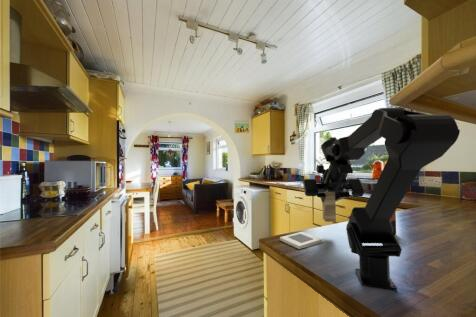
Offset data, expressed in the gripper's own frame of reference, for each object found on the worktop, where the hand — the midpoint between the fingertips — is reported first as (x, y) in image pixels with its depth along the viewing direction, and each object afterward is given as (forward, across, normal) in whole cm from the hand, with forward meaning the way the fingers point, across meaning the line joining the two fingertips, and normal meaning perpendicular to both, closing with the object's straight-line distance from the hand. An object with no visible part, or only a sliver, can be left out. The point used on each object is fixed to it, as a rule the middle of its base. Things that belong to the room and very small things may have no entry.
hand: (327, 201), depth 76 cm
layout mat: (+4, +11, +14) cm, 18 cm away
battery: (+10, -21, +8) cm, 25 cm away
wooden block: (+4, 0, +6) cm, 7 cm away
